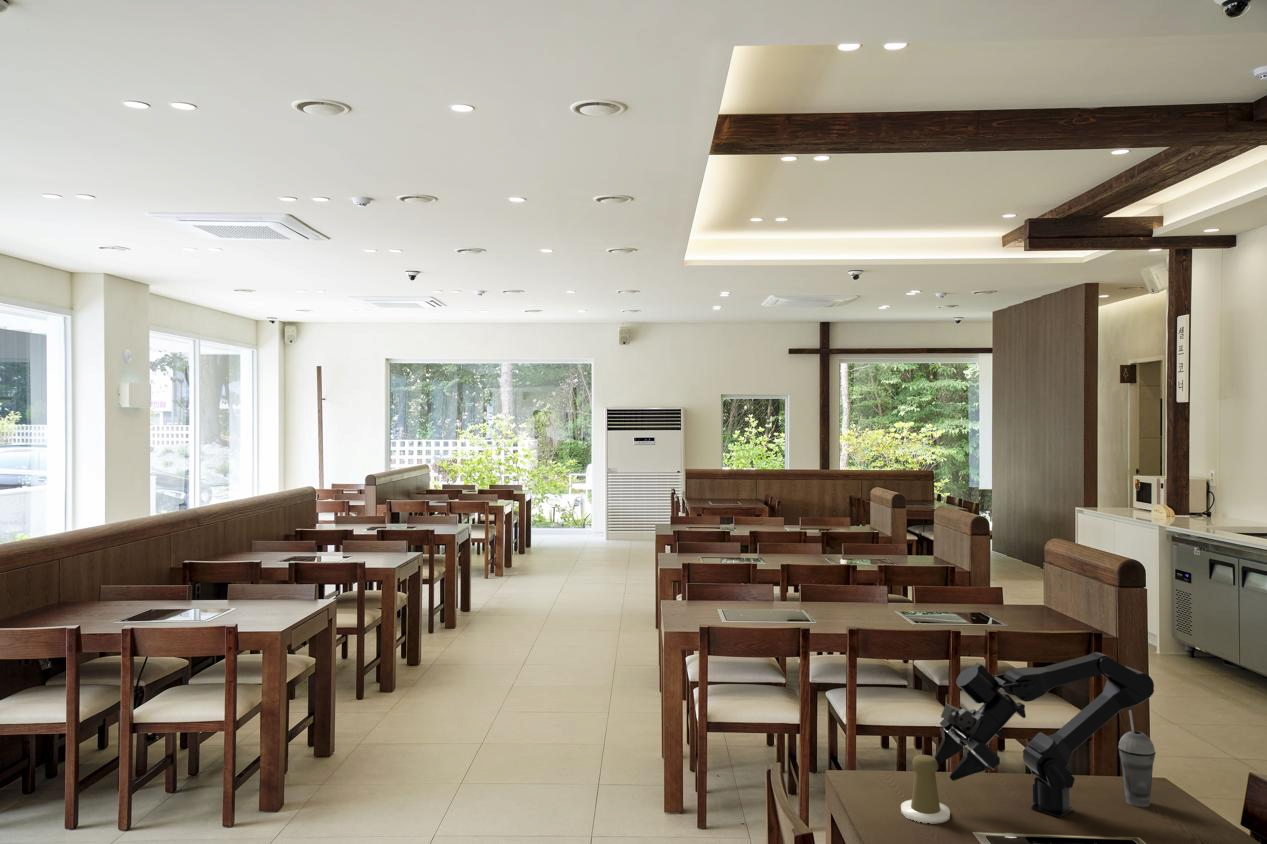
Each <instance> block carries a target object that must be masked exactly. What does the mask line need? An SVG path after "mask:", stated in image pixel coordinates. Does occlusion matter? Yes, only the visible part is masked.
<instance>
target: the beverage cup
mask: <svg viewBox="0 0 1267 844" xmlns="http://www.w3.org/2000/svg"><path fill="white" fill-rule="evenodd" d="M1128 714H1129V715H1128V716H1129V721H1130V722H1129V723H1130V728H1131V731H1127V732H1125V733H1124V734H1123V735H1122V736H1121V737H1120V740H1119V741H1118V746H1117V749H1118V753H1119V758H1120V761H1121V762H1120V763H1121V772H1122V779H1123V786H1124V787H1123V788H1124V795H1125V802H1126V803H1127V804H1128V805H1130V806H1133V807H1137V808H1138V807H1139V808H1148V807H1150V802H1151V798H1152V797H1151V796H1152V783H1153V769H1154V762H1155V757H1156V754H1157V753H1156V750H1155V746H1154V744H1153V741H1152V740H1151V738H1150V737H1149V736H1148V735H1146V734H1145V733H1143V732H1141V731H1137V730H1135V726H1134V719H1133V713H1132V710H1131V709H1130V710H1128Z"/></svg>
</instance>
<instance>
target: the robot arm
mask: <svg viewBox="0 0 1267 844" xmlns="http://www.w3.org/2000/svg"><path fill="white" fill-rule="evenodd" d="M1101 675H1102V676H1103V677H1104V678H1106V681H1105V685H1104V686H1103V687H1104V688H1103V690H1102V692H1101V693H1100V694H1099V695H1098V696H1097V697H1095V698H1094V699H1093V700H1092V701H1091V702H1090V703H1088V705H1086V706H1085V707H1084V708H1082V710H1080V712H1078V713H1077V714H1075V716H1073V717H1072V718H1071V719H1070V720H1069V721H1068V722H1066V723H1065V724H1064V725H1063V726H1062V727H1061V728H1060V729H1058V730H1057V731H1056V732H1054V733H1053V734H1050V735H1048V734H1047V735H1046V734H1045V733H1044V732H1041V731H1039V732H1038V733H1036V734H1035V736H1034V737H1033V739H1030V740H1028V741H1026V742H1025V744H1026V746H1025V747H1024V748H1023V751H1022V752H1023V753H1022V759H1023V763H1024V764H1025V765H1026V766H1027V767H1028V768H1029V770H1030V772H1031V774H1032V775H1033V776H1035V777H1034V778H1033V784H1032V787H1031V788H1032V790H1031V791H1032V803H1033V804H1032V805H1030V809H1031V808H1032V810H1034V809H1035V811H1037V810H1038V811H1037V812H1040V811H1041V812H1040V813H1044V814H1046V815H1047V814H1048V815H1049V816H1053V817H1055V818H1061V817H1062V818H1063V816H1065V815H1067V814H1069V813H1071V812H1073V811H1074V807H1073V806H1070V803H1071V802H1070V789H1071V788H1073V785H1074V783H1075V781H1076V778H1075V777H1074V776H1073V775H1072V774H1071V772H1069V771H1068V770H1067V769H1066V768H1067V766H1069V763H1070V761H1071V757H1072V755H1073V753H1074V751H1075V750H1077V748H1079V747H1080V746H1082V744H1084V743H1085V742H1086V741H1088V739H1090V737H1092V736H1093V735H1094V734H1095V733H1096V732H1098V730H1100V729H1101V728H1102V727H1103V726H1105V724H1107V723H1108V722H1109V721H1110V720H1111V719H1113V717H1115V716H1116V715H1117V714H1118V713H1120V712H1121V711H1122V710H1124V709H1128V708H1131V707H1135V706H1138V705H1140V704H1142V703H1143V702H1145V701H1147V700H1149V699H1150V698H1151V697H1152V696H1153V694H1154V692H1155V690H1154V689H1155V684H1154V680H1153V679H1152V677H1151V676H1150V675H1149V674H1146V673H1144V672H1142V671H1139V670H1137V669H1135V668H1132V667H1129V666H1124V665H1123V664H1121V663H1119V662H1118V661H1116V660H1114V659H1113V658H1112V657H1110V656H1109V655H1107V654H1103V653H1101V652H1098V651H1095V652H1091V653H1089V654H1086V655H1083V656H1080V657H1076V658H1071V659H1069V660H1065V661H1062V662H1057V663H1054V664H1050V665H1046V666H1043V667H1032V666H1031V667H1029V666H1028V667H1027V666H1026V667H1025V666H1024V667H1023V666H1022V667H1013V668H1010V669H1007V670H1006V671H1005V672H1004V673H1000V674H996V675H992V674H991V673H990V672H989V671H988V670H987V668H986V667H985V666H984V665H983V664H981V663H979V662H976V663H975V664H974V665H973V666H968V667H967V668H966V669H964V670H963V669H962V671H961V672H960V673H959V674H958V676H957V677H956V681H955V683H956V685H957V687H959V689H961V690H962V691H963V693H965V694H966V695H967V696H968V697H969V698H970V699H971V700H972V701H974V703H976V704H977V705H978V704H982V705H981V707H979V708H978V710H976V709H975V708H973V709H971V710H970V711H969V710H966V709H965V708H961V709H960V708H958V707H957V706H956V707H955V706H954V705H951V704H948V703H945V706H944V708H943V711H942V713H941V714H940V715H941V716H940V718H942V720H941V721H940V722H939V725H940V726H941V727H939V730H940V732H941V741H940V744H939V746H938V748H937V750H936V752H935V755H934V756H933V757H934V758H935V759H936V761H937V764H938V765H940V764H942V763H944V762H946V761H947V760H950V758H952V757H953V756H955V755H957V754H959V753H960V752H961V751H963V757H962V758H961V759H960V760H959V762H958V763H957V765H956V766H955V767H954V769H953V770H952V771H951V773H950V775H949V779H950V780H951V781H952V782H954V781H957V780H960V779H963V778H965V777H969V776H971V775H973V774H974V775H975V774H977V773H980V772H984V771H987V772H988V771H990V768H991V769H992V770H993V771H995V770H996V769H997V768H998V766H1000V764H1001V763H1000V762H1001V761H1000V760H1001V759H1000V758H1001V757H999V756H998V755H997V753H996V752H995V751H993V750H992V748H990V746H988V744H989V743H990V742H991V741H992V740H993V738H995V736H997V737H998V738H1000V737H1001V736H1002V735H1003V732H1001V730H1002V728H1004V726H1005V725H1006V724H1007V723H1008V722H1009V721H1010V719H1012V717H1013V716H1014V715H1015V714H1017V716H1019V717H1021V718H1022V719H1025V718H1027V715H1026V709H1025V708H1026V705H1025V704H1024V703H1022V702H1025V703H1026V702H1028V703H1029V702H1032V701H1035V700H1036V699H1038V698H1041V697H1043V696H1045V695H1046V694H1047V693H1048V692H1049V691H1050V690H1052V689H1054V688H1057V687H1061V686H1064V685H1069V684H1071V683H1075V682H1079V681H1082V680H1083V681H1084V680H1086V679H1090V678H1093V677H1097V676H1101ZM999 690H1001V691H1002V692H1004V694H1002V693H1001V692H1000V691H999ZM1011 696H1013V697H1015V698H1017V699H1019V700H1020V701H1019V702H1018V701H1016V700H1015V699H1014V698H1012V697H1011ZM1021 701H1022V702H1021Z"/></svg>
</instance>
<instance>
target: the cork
mask: <svg viewBox="0 0 1267 844" xmlns="http://www.w3.org/2000/svg"><path fill="white" fill-rule="evenodd" d="M934 757H935V756H933V755H927V754H918V755H915V756H914V757H913V759H912V768H913V770H914V779H913V786H912V787H913V788H912V795H911V800H912V802H911V808H912V809H913V810H915V811H917V812H920V813H926V814H934V813H938V812H940V804H939V803H940V797H939V792H938V791H939V790H938V785H937V784H938V783H937V777H936V773H937V771H938V770H939V769H938V767H939V764H937V761H936V759H935V758H934Z"/></svg>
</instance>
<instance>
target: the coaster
mask: <svg viewBox="0 0 1267 844" xmlns="http://www.w3.org/2000/svg"><path fill="white" fill-rule="evenodd" d="M911 802H912V799H908V800H905V801H903V802H902V803H901V804H900V814H903V815H904V816H905V818H906V819H908V820H910V819H911V820H910V821H912V820H914V821H913V822H916V821H917V822H916V823H920V822H922V823H921V824H927V823H930V825H935V824H942V823H946V822H948V821H950V819H951V818H950V817H951V811H950V808H949V807H948V806H947V805H946V804H944V803H941V802H939V804H940V812H938V813H934V814H926V813H920V812H917V811H915V810H913V809H912V808H911ZM903 815H902V816H903ZM904 816H903V817H904Z"/></svg>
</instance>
